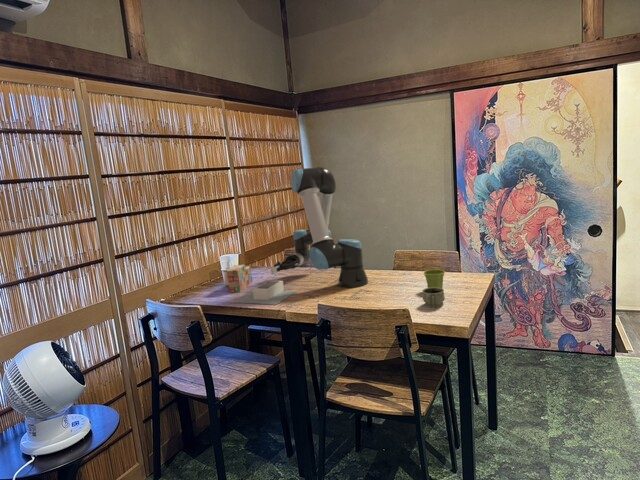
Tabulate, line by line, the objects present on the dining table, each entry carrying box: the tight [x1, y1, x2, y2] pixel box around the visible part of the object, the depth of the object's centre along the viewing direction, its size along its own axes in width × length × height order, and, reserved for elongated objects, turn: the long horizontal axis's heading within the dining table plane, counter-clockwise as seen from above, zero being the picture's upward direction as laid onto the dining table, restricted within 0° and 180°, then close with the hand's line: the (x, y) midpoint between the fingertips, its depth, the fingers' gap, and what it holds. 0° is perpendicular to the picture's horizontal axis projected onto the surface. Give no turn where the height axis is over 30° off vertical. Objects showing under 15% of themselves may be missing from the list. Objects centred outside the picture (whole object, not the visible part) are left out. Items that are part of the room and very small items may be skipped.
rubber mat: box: [233, 290, 298, 305], centre depth 213 cm, size 24×20×1 cm
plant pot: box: [423, 268, 446, 289], centre depth 196 cm, size 9×9×9 cm
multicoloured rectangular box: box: [226, 264, 253, 293], centre depth 238 cm, size 21×6×12 cm, turn 171°
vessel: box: [422, 287, 446, 309], centre depth 177 cm, size 12×9×6 cm
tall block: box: [252, 280, 285, 300], centre depth 215 cm, size 8×5×16 cm
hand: (272, 271), depth 219 cm, fingers closed
